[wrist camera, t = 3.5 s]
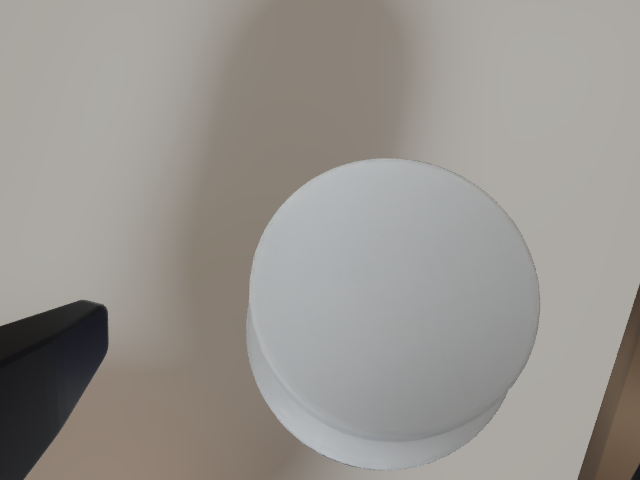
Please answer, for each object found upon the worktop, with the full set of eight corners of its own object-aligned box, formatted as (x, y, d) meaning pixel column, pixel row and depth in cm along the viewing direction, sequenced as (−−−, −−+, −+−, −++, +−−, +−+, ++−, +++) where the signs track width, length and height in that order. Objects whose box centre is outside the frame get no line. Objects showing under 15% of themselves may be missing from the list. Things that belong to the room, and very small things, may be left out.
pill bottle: (393, 505, 17) (456, 572, 8) (242, 392, 18) (136, 330, 9) (488, 345, 18) (639, 238, 9) (342, 251, 20) (343, 73, 10)
